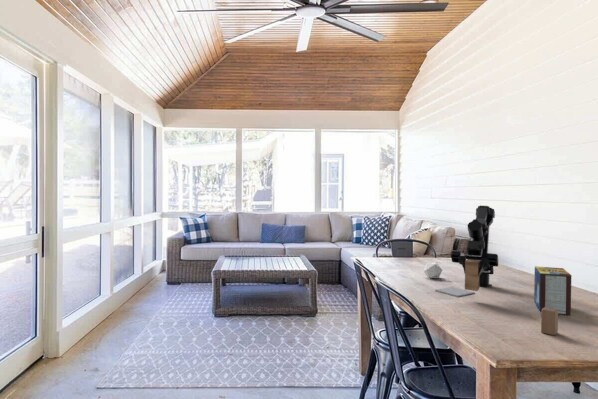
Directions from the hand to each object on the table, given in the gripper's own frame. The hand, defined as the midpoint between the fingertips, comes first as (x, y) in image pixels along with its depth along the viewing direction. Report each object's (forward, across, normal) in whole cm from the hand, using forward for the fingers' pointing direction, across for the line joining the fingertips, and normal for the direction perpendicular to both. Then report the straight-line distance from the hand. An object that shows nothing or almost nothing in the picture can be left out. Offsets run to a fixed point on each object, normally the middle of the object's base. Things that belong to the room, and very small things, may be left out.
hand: (471, 274), depth 166 cm
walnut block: (+4, 0, +6) cm, 7 cm away
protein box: (+3, +29, +14) cm, 32 cm away
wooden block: (+27, +28, -10) cm, 40 cm away
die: (-19, -25, +36) cm, 48 cm away
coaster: (-1, -9, +17) cm, 19 cm away
